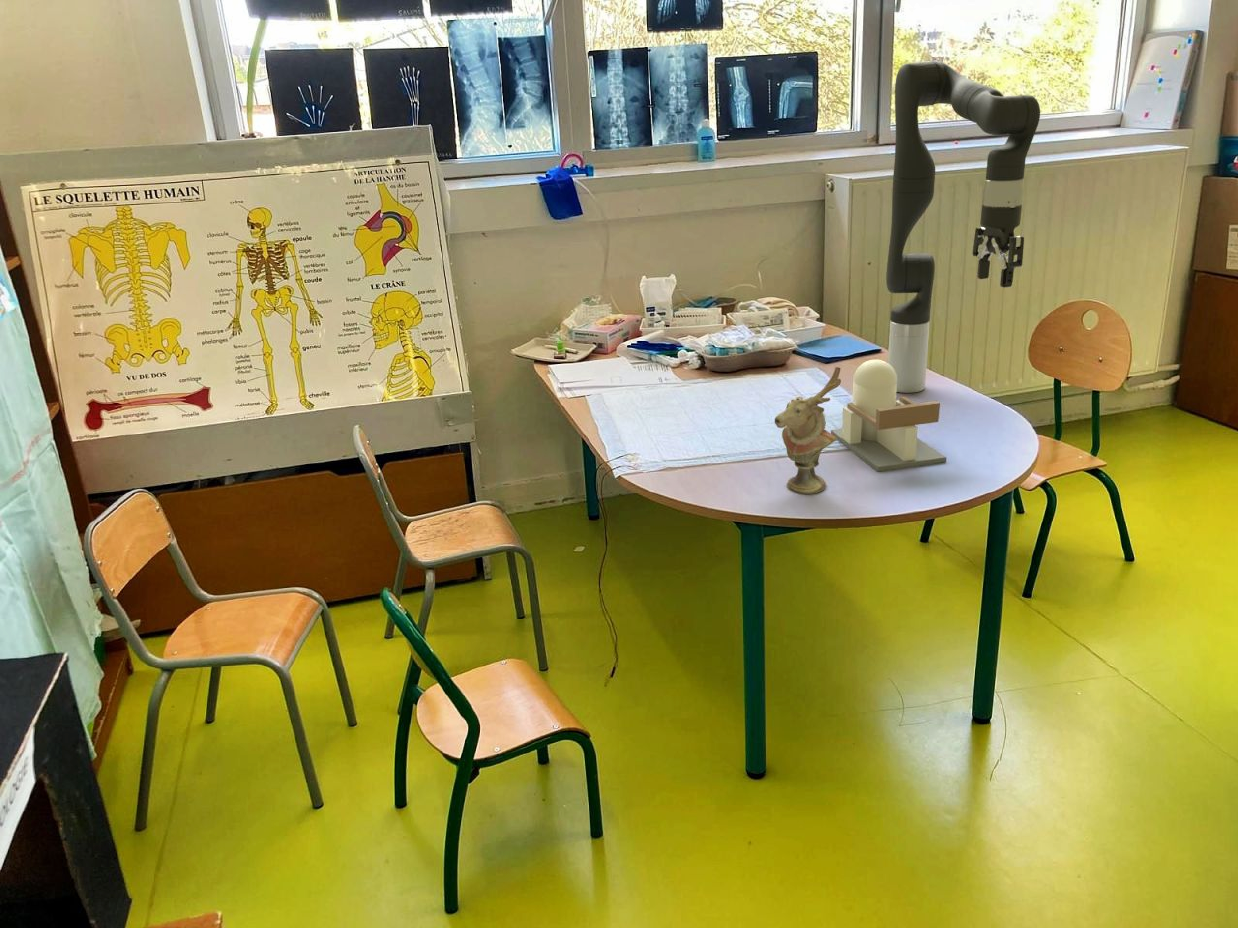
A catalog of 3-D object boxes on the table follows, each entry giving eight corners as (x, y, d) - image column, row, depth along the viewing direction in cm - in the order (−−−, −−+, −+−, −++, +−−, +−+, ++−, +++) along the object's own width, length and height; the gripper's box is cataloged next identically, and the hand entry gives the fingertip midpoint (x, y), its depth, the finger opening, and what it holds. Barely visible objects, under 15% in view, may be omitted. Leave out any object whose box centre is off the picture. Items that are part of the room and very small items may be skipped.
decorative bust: (763, 495, 175) (780, 365, 168) (778, 477, 187) (795, 355, 179) (820, 507, 171) (840, 374, 164) (832, 488, 183) (852, 364, 175)
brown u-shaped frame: (847, 407, 198) (847, 389, 196) (903, 400, 200) (904, 382, 198) (878, 430, 184) (879, 411, 183) (938, 421, 187) (939, 403, 185)
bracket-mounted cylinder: (830, 434, 206) (833, 358, 199) (893, 425, 208) (897, 350, 202) (877, 471, 185) (881, 388, 179) (945, 461, 188) (952, 379, 181)
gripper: (966, 200, 191) (959, 277, 198) (1005, 208, 179) (996, 291, 185) (999, 196, 193) (991, 274, 199) (1040, 205, 180) (1031, 287, 186)
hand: (994, 282), depth 192 cm, fingers open, 8 cm apart
